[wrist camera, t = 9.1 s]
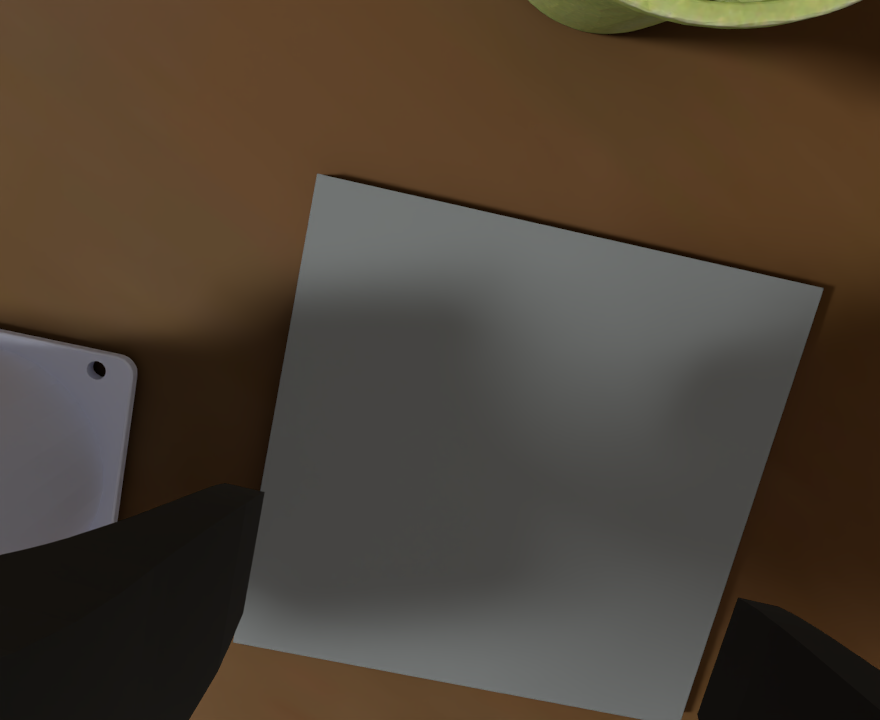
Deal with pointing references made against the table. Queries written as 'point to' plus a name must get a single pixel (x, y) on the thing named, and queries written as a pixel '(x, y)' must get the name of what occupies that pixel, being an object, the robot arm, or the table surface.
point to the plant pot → (682, 13)
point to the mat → (513, 451)
